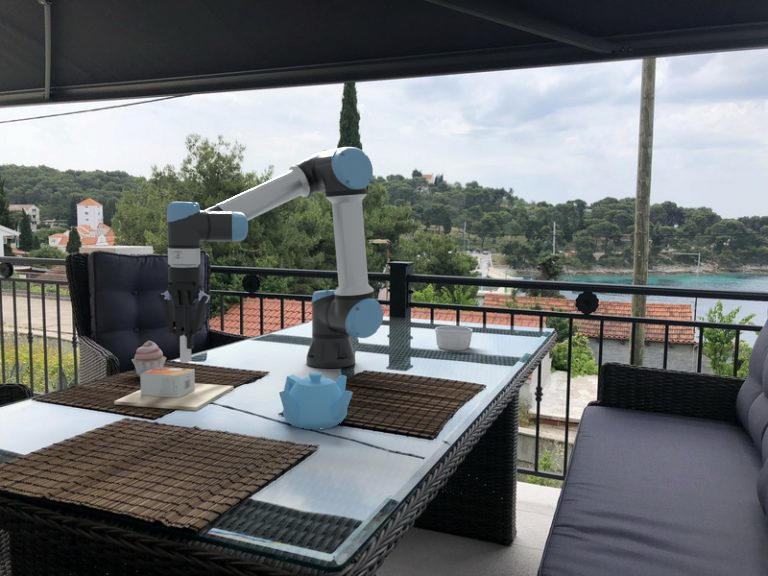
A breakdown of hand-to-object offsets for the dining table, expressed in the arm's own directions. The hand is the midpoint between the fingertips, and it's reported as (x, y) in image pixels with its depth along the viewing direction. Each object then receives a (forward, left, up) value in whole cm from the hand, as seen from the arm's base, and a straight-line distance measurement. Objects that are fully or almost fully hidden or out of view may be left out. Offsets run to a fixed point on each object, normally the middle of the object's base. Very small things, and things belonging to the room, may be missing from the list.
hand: (185, 361), depth 156 cm
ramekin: (-59, -82, -9) cm, 101 cm away
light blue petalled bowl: (-37, +11, -9) cm, 40 cm away
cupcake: (+21, -18, -9) cm, 29 cm away
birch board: (+3, 0, -9) cm, 9 cm away
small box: (-1, 0, -5) cm, 5 cm away
